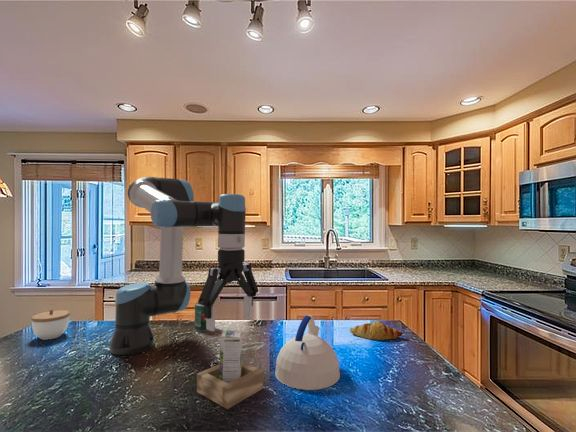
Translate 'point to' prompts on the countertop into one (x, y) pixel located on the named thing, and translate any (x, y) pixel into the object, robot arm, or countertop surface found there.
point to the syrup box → (230, 356)
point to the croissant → (376, 331)
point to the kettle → (307, 360)
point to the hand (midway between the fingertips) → (230, 323)
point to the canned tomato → (200, 318)
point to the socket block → (229, 385)
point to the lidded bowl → (50, 324)
